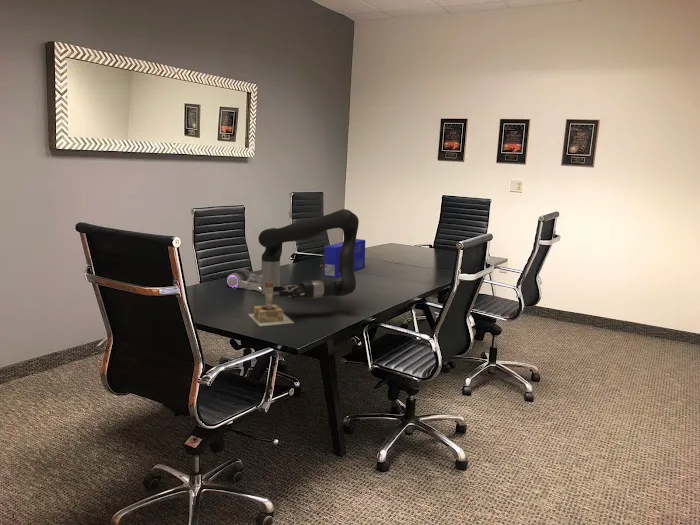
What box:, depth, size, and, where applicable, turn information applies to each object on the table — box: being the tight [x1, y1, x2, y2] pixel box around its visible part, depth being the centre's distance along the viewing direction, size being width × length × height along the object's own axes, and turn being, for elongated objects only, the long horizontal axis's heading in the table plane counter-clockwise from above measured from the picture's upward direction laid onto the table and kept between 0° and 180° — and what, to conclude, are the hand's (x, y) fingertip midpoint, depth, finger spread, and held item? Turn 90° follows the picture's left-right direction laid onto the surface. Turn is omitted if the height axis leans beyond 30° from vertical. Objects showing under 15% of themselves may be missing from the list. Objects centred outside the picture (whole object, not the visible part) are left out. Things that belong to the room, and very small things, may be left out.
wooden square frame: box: [253, 304, 285, 323], centre depth 233 cm, size 10×10×4 cm
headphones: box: [226, 268, 261, 293], centre depth 290 cm, size 22×8×22 cm
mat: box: [247, 313, 295, 327], centre depth 234 cm, size 18×15×1 cm
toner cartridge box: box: [323, 238, 366, 278], centre depth 336 cm, size 39×8×18 cm, turn 152°
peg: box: [264, 281, 274, 310], centre depth 232 cm, size 3×3×16 cm
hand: (276, 291), depth 233 cm, fingers open, 8 cm apart
